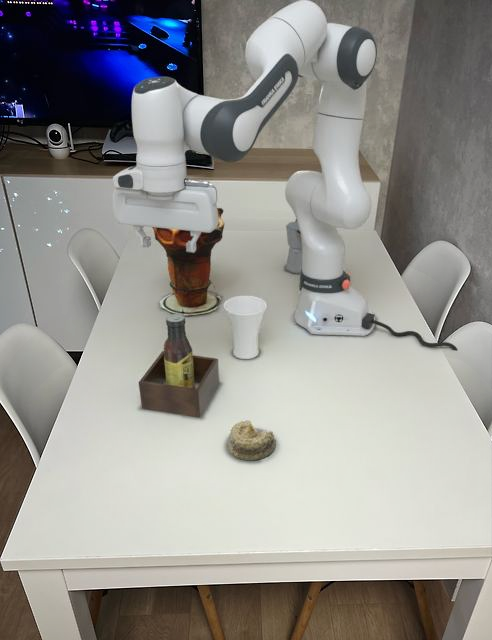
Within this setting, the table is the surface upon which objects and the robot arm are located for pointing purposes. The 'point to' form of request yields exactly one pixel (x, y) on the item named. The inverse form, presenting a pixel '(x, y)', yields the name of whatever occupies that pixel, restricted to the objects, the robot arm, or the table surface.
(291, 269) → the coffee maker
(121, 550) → the table surface
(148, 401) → the caddy
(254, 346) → the cup
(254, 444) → the cake
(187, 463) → the table surface
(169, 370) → the sauce bottle
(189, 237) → the decorative vase
